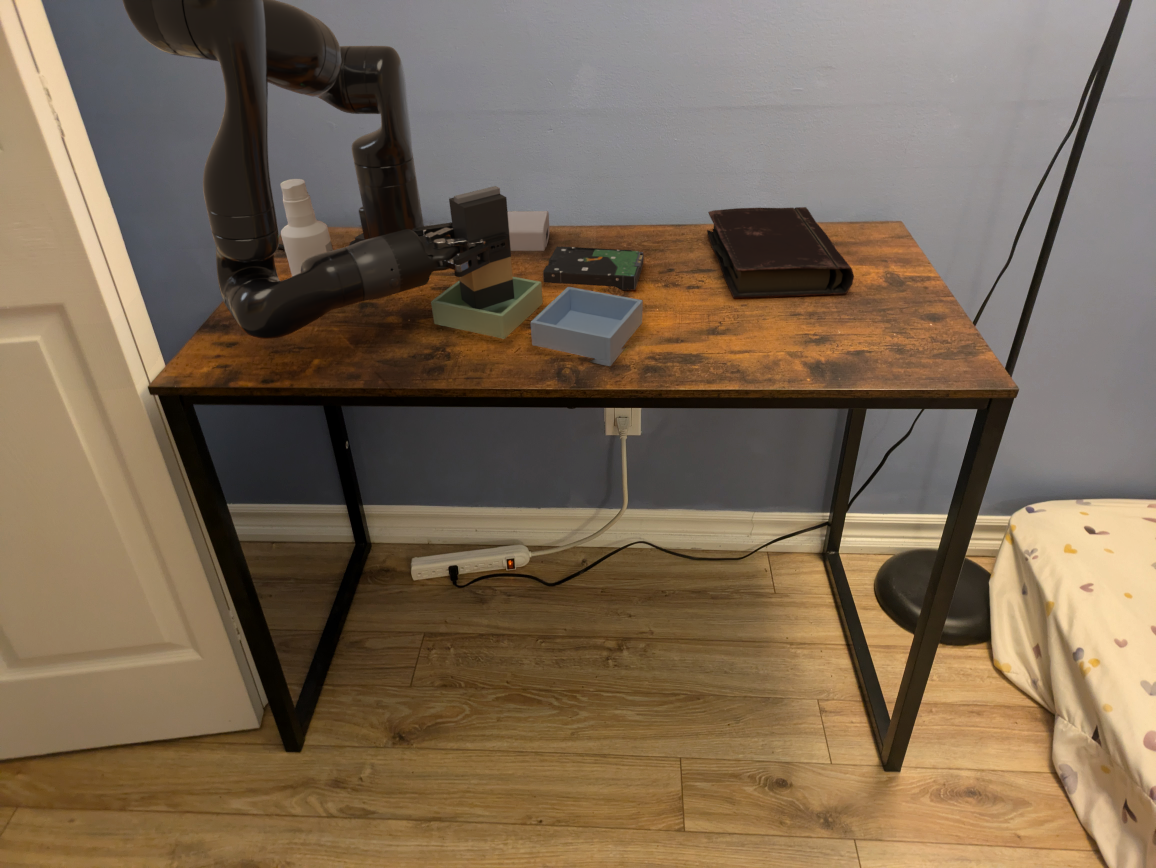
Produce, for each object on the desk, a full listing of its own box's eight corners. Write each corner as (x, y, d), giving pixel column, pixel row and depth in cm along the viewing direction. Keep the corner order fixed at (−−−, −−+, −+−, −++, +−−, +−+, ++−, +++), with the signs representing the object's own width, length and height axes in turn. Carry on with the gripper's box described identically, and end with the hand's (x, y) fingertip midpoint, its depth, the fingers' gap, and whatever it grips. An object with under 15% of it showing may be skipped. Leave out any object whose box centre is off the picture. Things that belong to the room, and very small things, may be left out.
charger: (468, 234, 139) (550, 234, 138) (458, 254, 132) (544, 255, 131) (465, 208, 136) (548, 208, 135) (455, 228, 129) (543, 228, 128)
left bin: (434, 328, 111) (430, 301, 108) (476, 294, 119) (473, 269, 117) (504, 343, 107) (502, 316, 104) (543, 307, 115) (541, 281, 113)
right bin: (532, 349, 105) (530, 321, 103) (568, 312, 114) (567, 286, 111) (610, 366, 101) (610, 338, 98) (642, 327, 109) (642, 300, 107)
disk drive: (543, 288, 121) (636, 292, 118) (542, 271, 119) (636, 275, 117) (556, 261, 129) (643, 264, 127) (555, 245, 127) (644, 248, 125)
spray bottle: (352, 291, 121) (326, 177, 111) (323, 309, 117) (294, 192, 106) (318, 284, 124) (290, 172, 113) (289, 302, 119) (257, 187, 108)
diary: (806, 232, 136) (810, 204, 133) (850, 295, 116) (856, 264, 113) (701, 236, 136) (703, 208, 133) (727, 300, 116) (731, 269, 113)
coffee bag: (514, 298, 111) (506, 191, 102) (476, 310, 108) (463, 201, 99) (499, 287, 114) (489, 182, 105) (461, 299, 111) (448, 192, 102)
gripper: (404, 256, 92) (524, 223, 100) (359, 221, 102) (472, 193, 110) (413, 312, 97) (527, 276, 105) (369, 273, 106) (477, 243, 114)
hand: (498, 234), depth 107 cm, fingers closed on coffee bag, 4 cm apart
